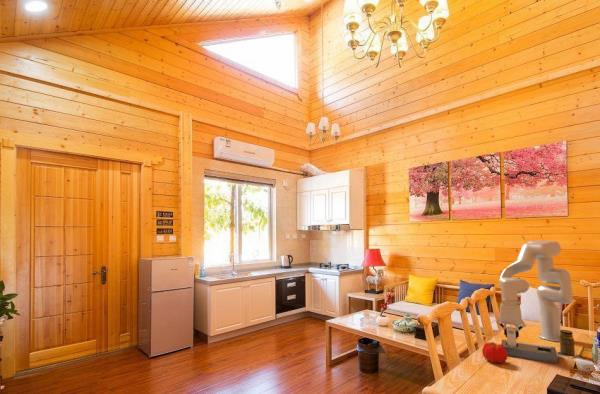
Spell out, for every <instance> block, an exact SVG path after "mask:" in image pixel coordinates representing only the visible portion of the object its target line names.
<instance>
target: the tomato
mask: <svg viewBox="0 0 600 394" xmlns="http://www.w3.org/2000/svg"><path fill="white" fill-rule="evenodd" d="M481 353H482V356H483V357H484V358H485V360H487V361H488V362H491V363H495V364H496V363H497V364H502V363H504V362H506V361H507V359H508V355H507V352H506V350H505V348H504V346H503V345H501V343H498V344H497V343H495V342H493V341H490V342H485V343H484V344H483V347H482V351H481Z"/></svg>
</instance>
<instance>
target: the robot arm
mask: <svg viewBox="0 0 600 394" xmlns="http://www.w3.org/2000/svg"><path fill="white" fill-rule="evenodd" d="M561 249H562V248H561V244H560V243H559V242H557V240H556V241H554V240H537V239H536V240H529V241H527V242H525V243H523V244H522V246H521V247H520V251H519V253H518V255H517V257H516V259H515V260H516V261H515V262H513V263H511V264H510V265H508V266H507V267H506V268H505V269H503V271H502V272H501V274H500V278H499V280H498V285H499V287H500V291H501V295H500V296H501V303H500V305H499V317H498V318H497V320H496V321H495V323H496V324H497V325H499V326H501V328H502V329H503V334H504V336H505V338H507V325H512V326H515V327H514V328H516V340H518V338H519V337H520V335H519V334H520V332H519V331H521V330H522V329H524V328H526V327H527V324H526V323H525V321H524V320H523V319H522V311H521V309H522V308H521V306H520V305H522V301H519V300H518V299H519V298H518V293H520V294H524V293H527V292H528V290H529V289H530V284H529V282H528V281H527V280H525V279H522V278H517V277H514V276H515V275H517V274H521V273H525V272H528V271H529V272H530V271H531V270H532V269H533V267H534V265H535V261H536V268H537V275H538V276H537V277H538V279H539V281H540V282H541V283H545V284H540V285H539V286H538V287H537V288H536V294H537V298H538V303H539V315H540V328H541V329H540V330H541V333H539V334H538V337H539V338H540V339H543V340H546V341H551V342H558V343H560V337H559V336H560V330H562V329H561V321H560V320H561V318H560V317H561V316H560V314H561V313H560V309H559V307H558V305H557V303H559V304H564V305H568V304H572V302H573V299H574V297H573V295H574V294H573V286H572V284H573V283H572V277H571V274H570V272H569V271H568V270H567V269H565V268H558V267H555V263H554V259H553V257H557V256H558V255H559V254H560V253H561ZM550 284H551V285H550ZM552 284H553V285H552ZM557 285H558V286H557Z"/></svg>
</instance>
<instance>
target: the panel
mask: <svg viewBox="0 0 600 394" xmlns="http://www.w3.org/2000/svg"><path fill="white" fill-rule="evenodd" d="M516 344H517V346H516V347H515V346H509V345H508V344H507V339H501V343H500V345H503V346H504V348H505V350H506V352H507V357H512V358H513V357H514V358H520V359H526V360H530V361H531V360H532V361H535V362H536V361H537V362H542V363H549V364H554V365H559V362H558V361H559V360H558V354H557V353H558V352H557V349H556V347H555V346H549V345H548V346H547V345H543V344H534V343H529V342H528V343H527V342H521V341H516Z"/></svg>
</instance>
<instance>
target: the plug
mask: <svg viewBox="0 0 600 394" xmlns="http://www.w3.org/2000/svg"><path fill="white" fill-rule="evenodd" d="M506 328H507V337H506V340H507V344H508V345H509V346H515V347H516V346H517V344H516V342H517V339H516V327H513V326H512V327H511V326H506Z"/></svg>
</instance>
